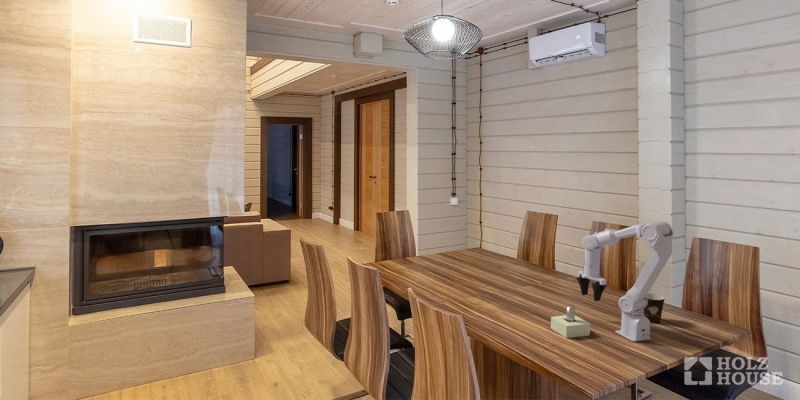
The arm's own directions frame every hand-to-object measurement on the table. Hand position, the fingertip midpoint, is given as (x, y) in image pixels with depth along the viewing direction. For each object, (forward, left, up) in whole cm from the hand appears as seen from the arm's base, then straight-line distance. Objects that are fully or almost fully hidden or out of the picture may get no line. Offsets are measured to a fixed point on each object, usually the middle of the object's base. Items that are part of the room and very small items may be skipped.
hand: (590, 297), depth 184 cm
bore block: (-7, +14, -10) cm, 19 cm away
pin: (-7, +14, -8) cm, 18 cm away
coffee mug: (-4, -24, -10) cm, 26 cm away
